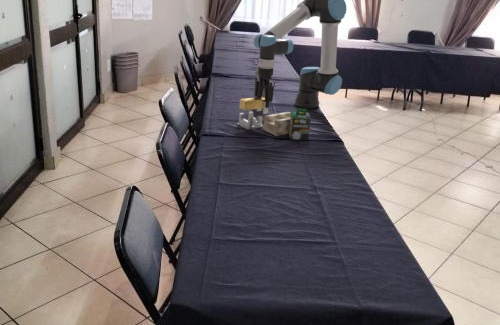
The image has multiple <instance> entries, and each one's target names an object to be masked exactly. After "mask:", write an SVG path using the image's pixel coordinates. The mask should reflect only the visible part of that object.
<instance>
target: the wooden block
mask: <svg viewBox="0 0 500 325" xmlns="http://www.w3.org/2000/svg"><path fill="white" fill-rule="evenodd" d="M264 101H265V98H263V97H257V98H254V97H249V98H240V99H239V109H241V110H242V111H243V110H244V111H250V110H255V109H259V108H263V106H264Z"/></svg>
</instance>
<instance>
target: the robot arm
mask: <svg viewBox="0 0 500 325" xmlns="http://www.w3.org/2000/svg"><path fill="white" fill-rule="evenodd" d="M346 13H347V3H346V1H345V0H303V1H300V3H298V4H297V6H296V8H295V9H294V10H292V11H291V12H290V13H289V14H288V15H286V16H285V17H284V18H283V19H281V20H280V21H279V22H277V23H276V24H275V25H274V26H272V27H271V28H270V29H269V30H267V31H266V32H264V34H263V33H262V34H261V33H259V34H256V35H255V37H254V39H253V45H254V47H255V48H256V49H259V56H258V57H259V58H258V65H259V66H260V67H259V68H258V75H259V77H255V76H254V88H255V96H256V97H262V94H263V89H264V91H265V101H264V106H263V110H262V108H259V109H257V110H256V112H262V115H267V114H269V109H270V108H269V107H270V102H272V101H274V100H273V98H274V91H275V90H274V88H275V85H276V82H275V81H272V76H273V75H274V66H275V56H276V55H288V54H291V53H292V52H293V50H294V42H293V40H292V39H291V38H286V37H285V36H287V35H288V34H289V33H290V32H291V31H293V30H294V29H295V28H297V27H298V26H299V25H300V24H302V23H303V22H304V21H307V20H309V19H311V18H313V17H317V18H319V23H320V25H321V46H320V48H321V49H320V50H321V51H320V67H319V66H306V67H302V68H301V69H300V73H299V83H298V92H297V94H296V97H295V99H294V105H295V106H296V107H298V108H302V109H315V107H317V106H318V107H320V100H319V94H318V93H319V92H320V93H323V94H325V95H330V96H332V95H335V94H337V93H338V92H339V90H340V89H341V87H342V83H343V79H342V76H340V75H339V69H337V67H336V66H337V53H338V52H337V50H338V34H339V25H340V24H341V23H342V20H343V19H344V18H345V16H346ZM284 37H285V38H284ZM318 107H317V108H318Z"/></svg>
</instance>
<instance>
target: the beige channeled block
mask: <svg viewBox="0 0 500 325" xmlns="http://www.w3.org/2000/svg"><path fill="white" fill-rule="evenodd" d="M290 116H291V111H285V112H280V113H278V112H277V113H273V114H268V115H267V114H265V115H264V120H263V131H265V132H267V133H270V134H272V136H273V135H274V136H275V137H278V136H282V135H289V128H290Z"/></svg>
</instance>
